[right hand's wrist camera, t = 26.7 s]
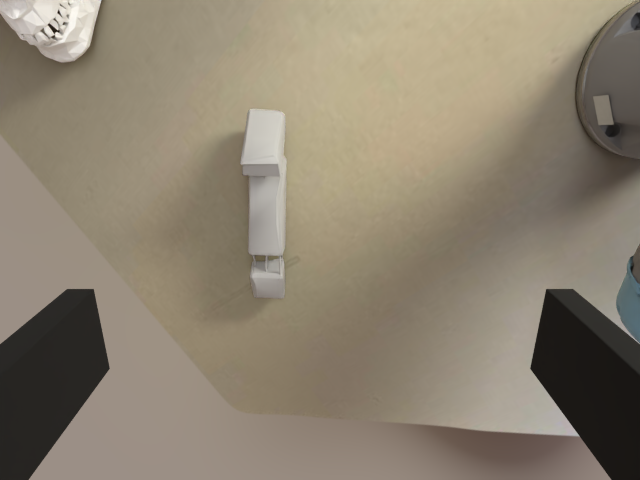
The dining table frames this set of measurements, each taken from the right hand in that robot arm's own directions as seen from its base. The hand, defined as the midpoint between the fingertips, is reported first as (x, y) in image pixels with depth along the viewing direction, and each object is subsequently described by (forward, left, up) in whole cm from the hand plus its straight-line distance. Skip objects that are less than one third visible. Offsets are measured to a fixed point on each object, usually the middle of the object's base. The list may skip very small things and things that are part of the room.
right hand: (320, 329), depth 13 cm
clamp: (+6, -5, -34) cm, 35 cm away
